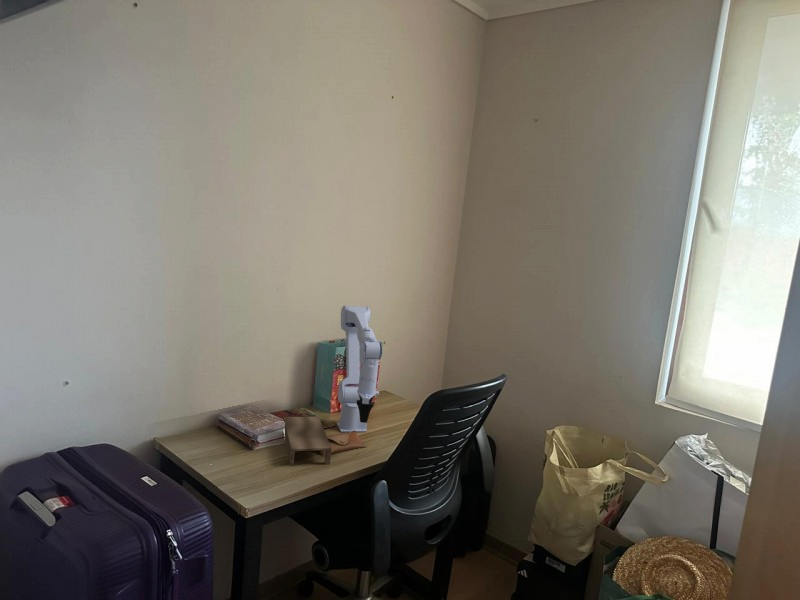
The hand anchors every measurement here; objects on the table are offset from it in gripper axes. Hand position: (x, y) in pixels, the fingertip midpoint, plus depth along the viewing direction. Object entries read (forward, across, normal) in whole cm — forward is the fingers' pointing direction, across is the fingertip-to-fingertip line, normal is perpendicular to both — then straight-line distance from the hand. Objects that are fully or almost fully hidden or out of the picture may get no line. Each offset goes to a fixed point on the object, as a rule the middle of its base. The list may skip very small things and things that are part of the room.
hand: (364, 418), depth 180 cm
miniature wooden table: (+11, -3, +18) cm, 21 cm away
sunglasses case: (+11, 0, +7) cm, 13 cm away
